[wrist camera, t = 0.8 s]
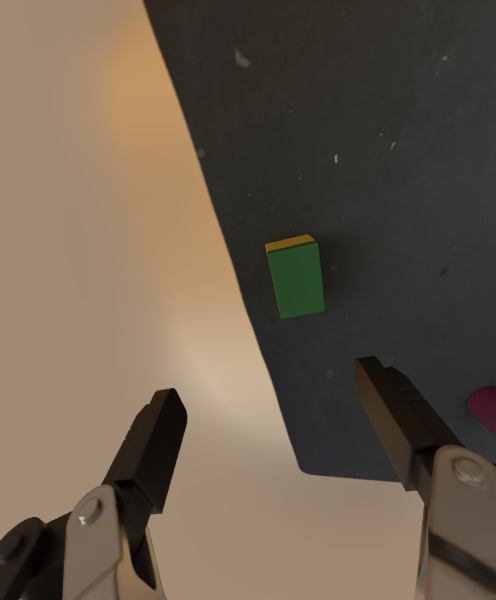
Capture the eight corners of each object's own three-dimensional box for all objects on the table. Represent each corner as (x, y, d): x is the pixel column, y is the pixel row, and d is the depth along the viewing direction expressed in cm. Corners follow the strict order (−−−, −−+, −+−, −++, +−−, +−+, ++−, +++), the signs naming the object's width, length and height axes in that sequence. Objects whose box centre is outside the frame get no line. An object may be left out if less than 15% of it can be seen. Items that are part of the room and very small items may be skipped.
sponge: (315, 293, 26) (325, 310, 23) (277, 301, 27) (281, 319, 23) (308, 233, 23) (318, 242, 20) (265, 244, 24) (267, 254, 20)
